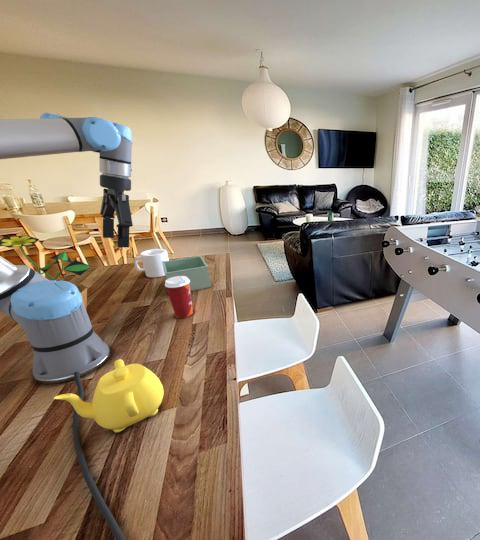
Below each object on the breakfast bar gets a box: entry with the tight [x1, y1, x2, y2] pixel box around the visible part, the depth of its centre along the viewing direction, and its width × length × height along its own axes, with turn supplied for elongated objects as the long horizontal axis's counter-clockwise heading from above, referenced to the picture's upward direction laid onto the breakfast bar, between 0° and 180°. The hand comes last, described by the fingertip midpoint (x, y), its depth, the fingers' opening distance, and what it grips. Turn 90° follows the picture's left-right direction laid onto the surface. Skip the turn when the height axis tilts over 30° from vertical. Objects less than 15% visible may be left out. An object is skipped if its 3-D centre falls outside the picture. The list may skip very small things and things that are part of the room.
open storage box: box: [162, 255, 212, 292], centre depth 126 cm, size 16×16×10 cm
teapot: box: [53, 358, 165, 433], centre depth 64 cm, size 14×14×12 cm
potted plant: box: [0, 234, 92, 309], centre depth 94 cm, size 18×19×30 cm
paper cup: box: [164, 276, 194, 319], centre depth 103 cm, size 8×8×14 cm
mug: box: [133, 248, 170, 278], centre depth 135 cm, size 14×10×11 cm
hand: (115, 242), depth 94 cm, fingers open, 13 cm apart
